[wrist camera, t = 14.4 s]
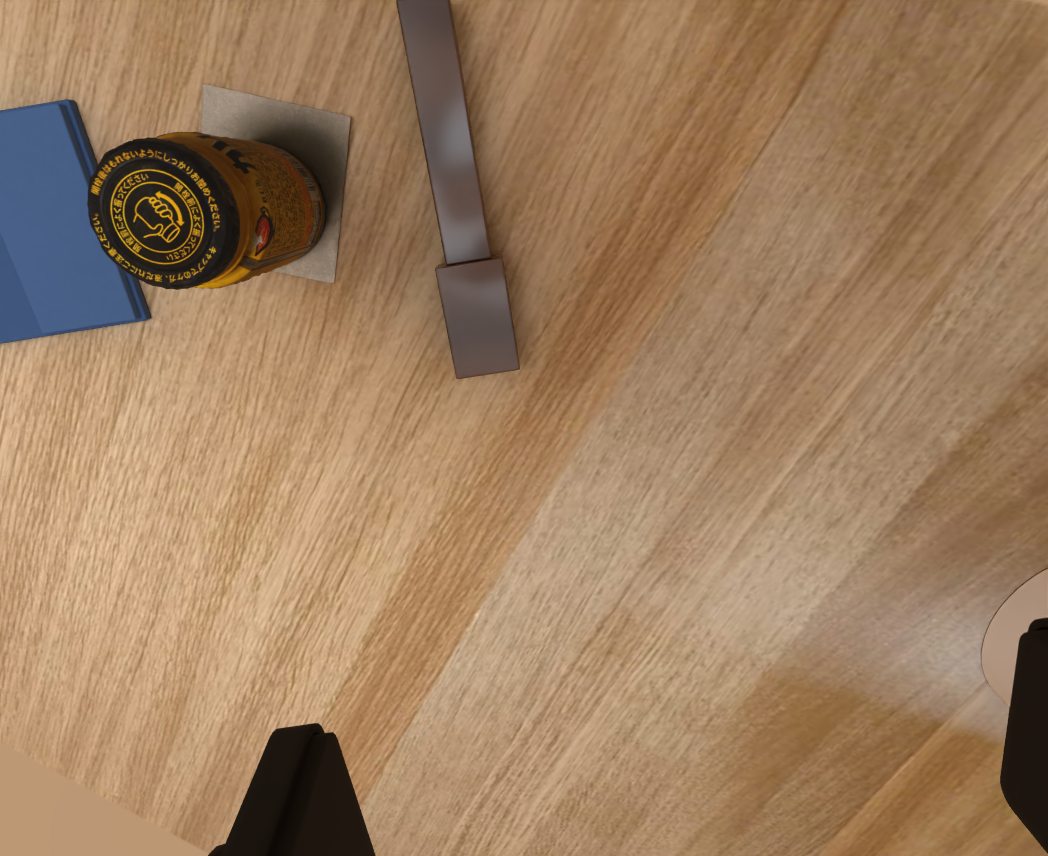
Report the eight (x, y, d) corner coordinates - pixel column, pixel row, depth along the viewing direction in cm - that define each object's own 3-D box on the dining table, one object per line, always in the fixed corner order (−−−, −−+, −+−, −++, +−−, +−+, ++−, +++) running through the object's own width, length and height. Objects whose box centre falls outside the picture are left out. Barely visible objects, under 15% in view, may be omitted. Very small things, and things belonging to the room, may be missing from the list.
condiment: (198, 256, 36) (59, 291, 24) (204, 83, 33) (49, 33, 22) (335, 283, 36) (260, 329, 25) (352, 116, 34) (277, 84, 22)
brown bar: (390, 11, 32) (382, -2, 30) (462, -1, 32) (459, -15, 30) (459, 367, 38) (456, 379, 36) (518, 358, 38) (520, 369, 36)
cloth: (-139, 136, 33) (-162, 134, 32) (75, 100, 33) (60, 97, 32) (-41, 348, 37) (-58, 354, 36) (151, 318, 37) (140, 322, 36)
